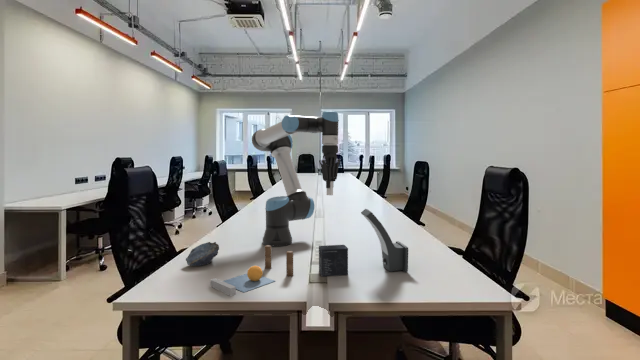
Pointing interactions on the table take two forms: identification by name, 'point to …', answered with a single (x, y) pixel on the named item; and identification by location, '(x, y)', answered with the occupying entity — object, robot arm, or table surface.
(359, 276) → the table surface
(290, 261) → the post
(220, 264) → the table surface
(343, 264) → the box
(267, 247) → the post
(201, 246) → the rock
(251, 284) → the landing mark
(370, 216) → the grey curved piece
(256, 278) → the ball
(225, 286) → the wall
